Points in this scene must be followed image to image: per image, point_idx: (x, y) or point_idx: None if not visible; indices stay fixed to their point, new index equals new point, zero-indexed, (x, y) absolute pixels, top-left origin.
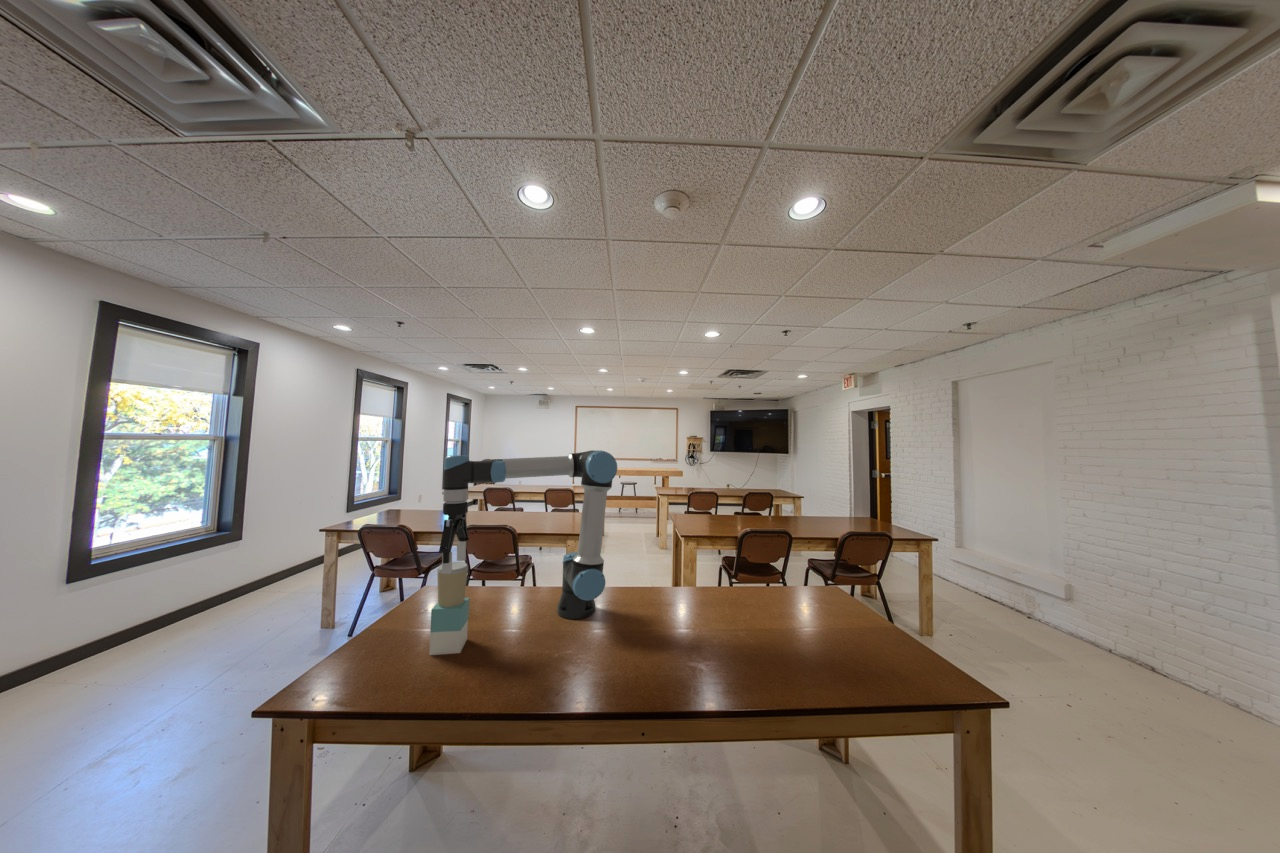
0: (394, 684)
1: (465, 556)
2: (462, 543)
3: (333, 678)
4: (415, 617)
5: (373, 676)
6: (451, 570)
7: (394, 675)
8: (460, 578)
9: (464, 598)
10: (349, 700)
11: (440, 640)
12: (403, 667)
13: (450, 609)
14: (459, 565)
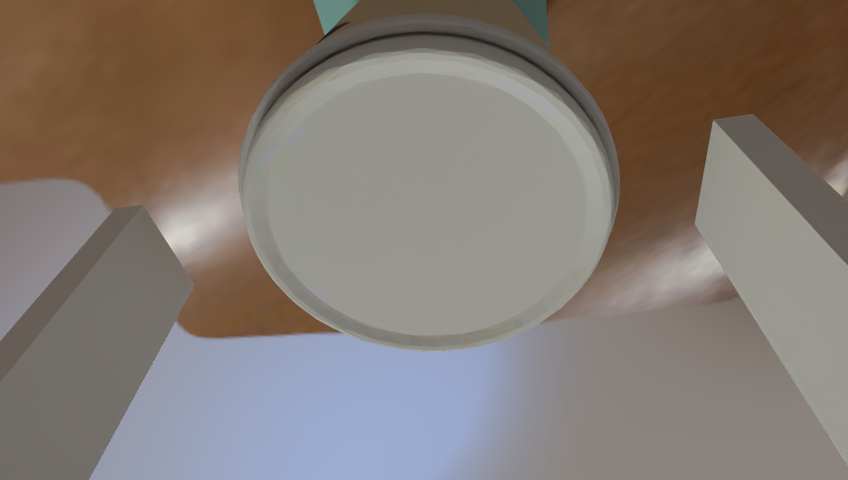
0: (755, 50)
1: (95, 241)
2: (3, 463)
3: (661, 262)
4: (228, 270)
5: (672, 160)
6: (744, 133)
7: (680, 91)
8: (521, 26)
9: (331, 6)
10: (823, 142)
11: None
12: (621, 93)
13: (544, 8)
14: (371, 171)
